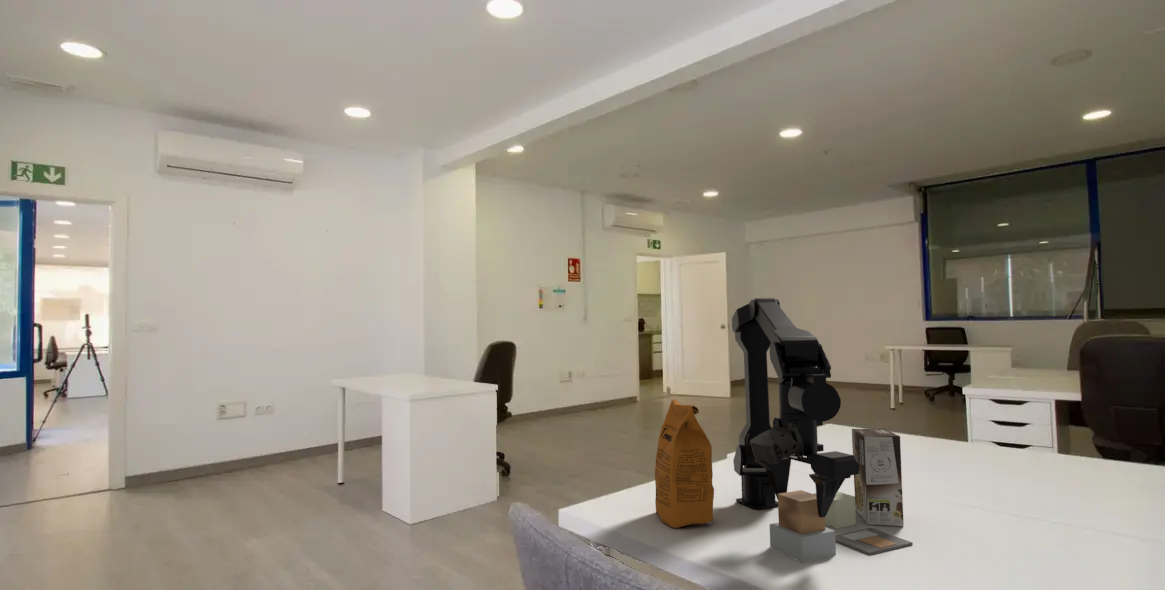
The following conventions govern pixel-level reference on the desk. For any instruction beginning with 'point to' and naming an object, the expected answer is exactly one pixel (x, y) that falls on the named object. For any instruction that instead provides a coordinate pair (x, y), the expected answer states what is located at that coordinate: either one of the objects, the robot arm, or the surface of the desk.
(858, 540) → the card
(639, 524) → the desk surface
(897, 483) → the coffee box
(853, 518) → the sage block
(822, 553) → the slate base block
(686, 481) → the coffee package
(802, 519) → the walnut block
